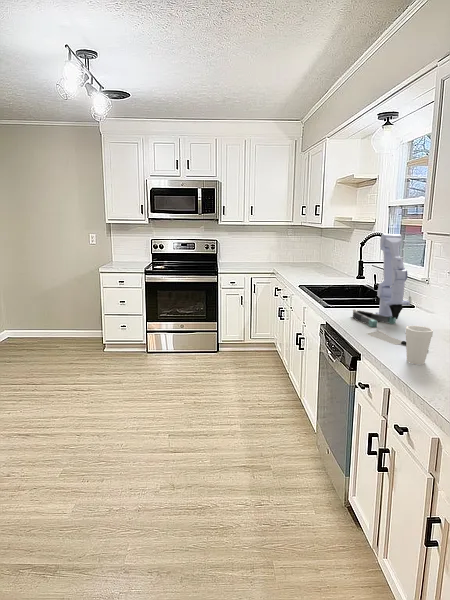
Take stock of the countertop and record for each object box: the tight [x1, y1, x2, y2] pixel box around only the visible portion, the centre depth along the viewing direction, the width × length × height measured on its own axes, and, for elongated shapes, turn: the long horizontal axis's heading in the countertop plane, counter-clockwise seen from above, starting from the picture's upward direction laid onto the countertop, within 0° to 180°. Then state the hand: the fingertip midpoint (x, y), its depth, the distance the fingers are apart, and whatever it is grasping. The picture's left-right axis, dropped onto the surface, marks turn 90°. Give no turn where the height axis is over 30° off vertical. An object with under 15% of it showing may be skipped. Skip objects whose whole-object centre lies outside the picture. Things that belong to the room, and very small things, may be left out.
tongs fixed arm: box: [352, 312, 378, 328], centre depth 235 cm, size 19×3×3 cm, turn 15°
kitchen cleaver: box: [366, 330, 429, 352], centre depth 201 cm, size 31×2×10 cm
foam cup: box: [405, 325, 434, 365], centre depth 174 cm, size 10×9×13 cm
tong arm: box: [352, 309, 397, 325], centre depth 240 cm, size 22×4×3 cm, turn 45°
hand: (394, 318), depth 238 cm, fingers closed
